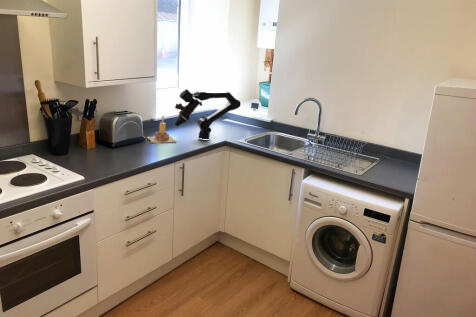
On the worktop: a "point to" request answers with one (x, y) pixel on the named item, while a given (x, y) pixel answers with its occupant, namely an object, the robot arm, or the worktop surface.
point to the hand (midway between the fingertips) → (175, 125)
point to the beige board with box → (161, 138)
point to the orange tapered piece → (162, 127)
